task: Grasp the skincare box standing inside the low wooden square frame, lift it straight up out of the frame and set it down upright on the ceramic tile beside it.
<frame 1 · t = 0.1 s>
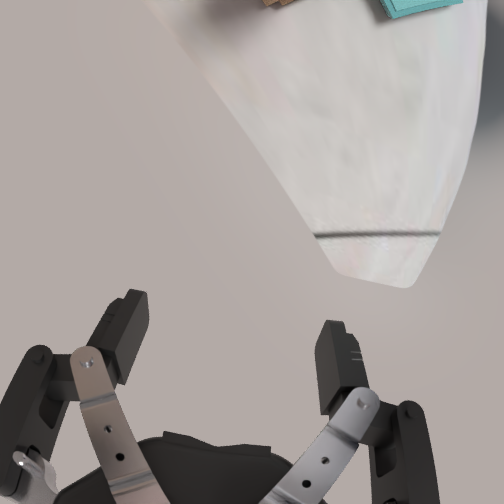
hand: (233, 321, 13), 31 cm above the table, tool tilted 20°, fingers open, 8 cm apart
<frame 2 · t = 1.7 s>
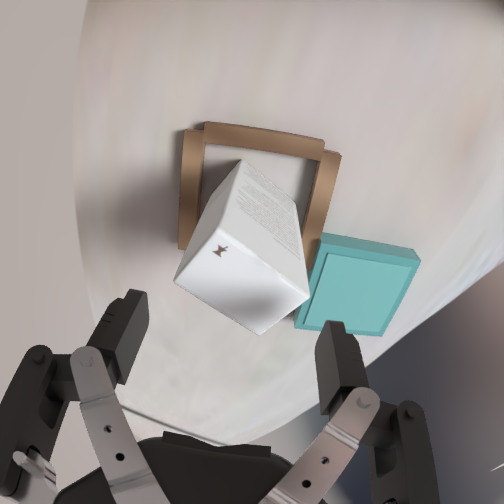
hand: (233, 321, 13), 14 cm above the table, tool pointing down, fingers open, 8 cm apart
skincare box: (254, 198, 25), resting in wooden square frame
tile: (352, 284, 29), on the table
wooden square frame: (253, 199, 25), on the table
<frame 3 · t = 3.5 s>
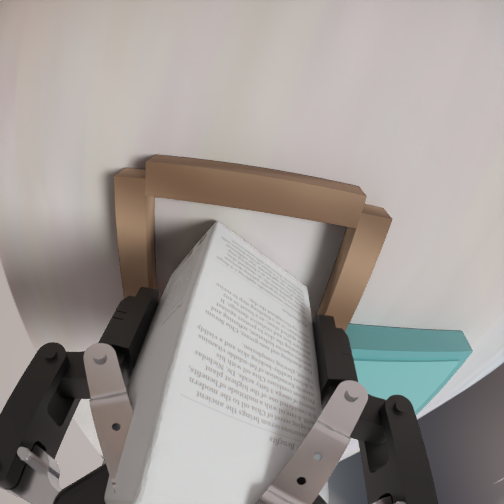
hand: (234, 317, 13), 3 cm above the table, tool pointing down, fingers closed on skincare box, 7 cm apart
skincare box: (240, 278, 16), resting in wooden square frame, touching gripper
tile: (378, 375, 20), on the table
wooden square frame: (239, 281, 16), on the table
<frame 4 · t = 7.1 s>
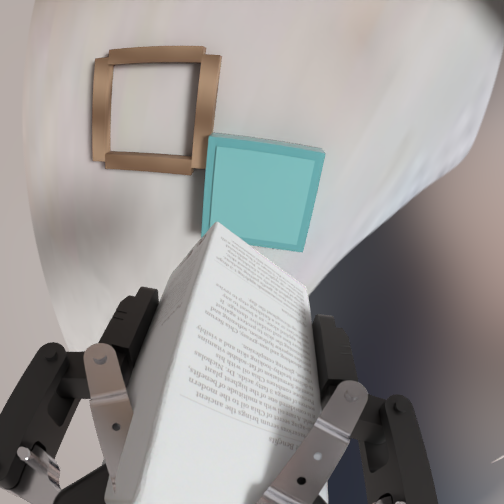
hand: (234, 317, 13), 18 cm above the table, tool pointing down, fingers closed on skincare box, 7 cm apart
skincare box: (240, 279, 16), point 15 cm above the table, touching gripper
tile: (259, 189, 29), on the table
wooden square frame: (152, 108, 25), on the table
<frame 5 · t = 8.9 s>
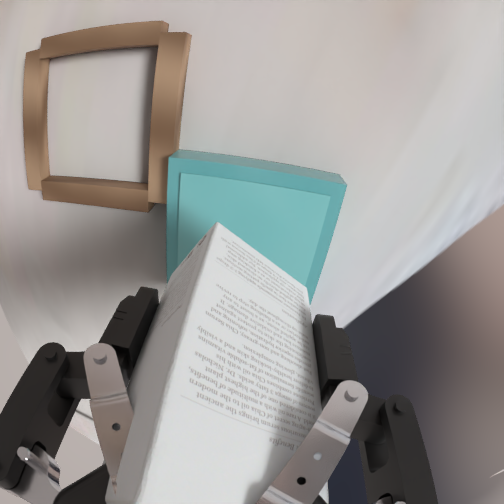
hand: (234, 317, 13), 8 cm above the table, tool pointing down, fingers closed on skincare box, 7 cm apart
skincare box: (240, 279, 16), point 5 cm above the table, touching gripper
tile: (248, 232, 20), on the table
wooden square frame: (96, 115, 16), on the table
when the fingers open (6 cm above the table, at t = 10.5 s): skincare box stays where it is, resting on tile.
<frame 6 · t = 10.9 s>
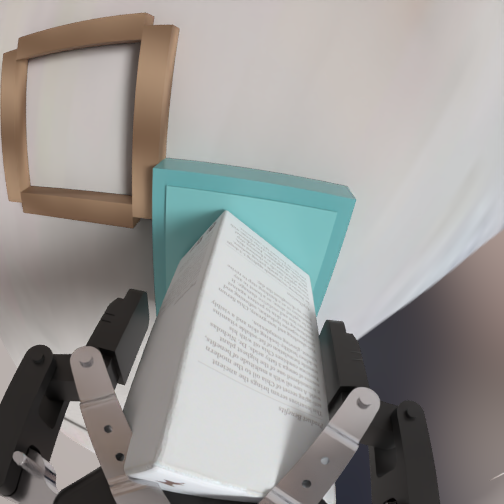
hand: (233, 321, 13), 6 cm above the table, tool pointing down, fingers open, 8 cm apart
skincare box: (246, 266, 17), point 2 cm above the table, touching tile
tile: (243, 249, 18), on the table
wooden square frame: (75, 120, 14), on the table
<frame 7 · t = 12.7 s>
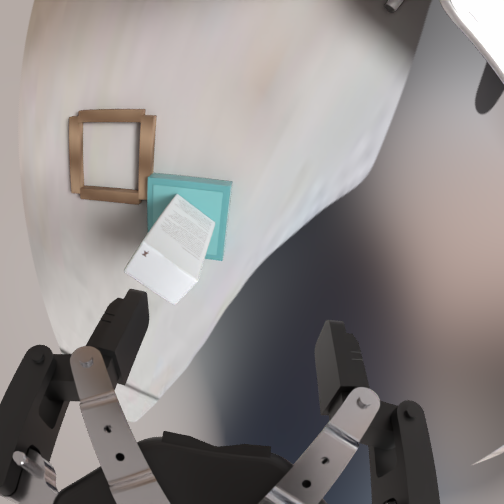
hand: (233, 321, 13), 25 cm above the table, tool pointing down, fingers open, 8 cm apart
skincare box: (187, 219, 36), point 2 cm above the table, touching tile
tile: (189, 214, 38), on the table
wooden square frame: (111, 154, 34), on the table
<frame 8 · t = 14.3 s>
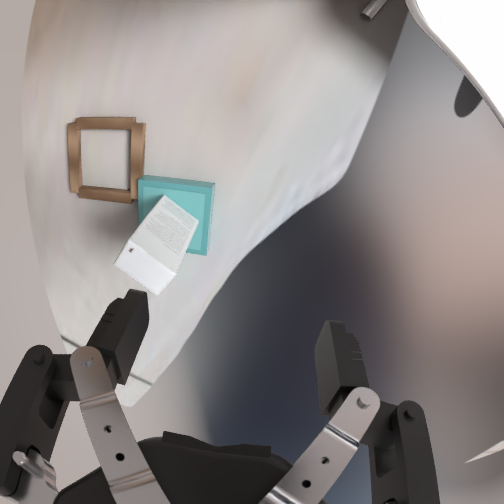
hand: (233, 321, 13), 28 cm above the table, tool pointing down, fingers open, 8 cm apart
skincare box: (174, 217, 40), point 2 cm above the table, touching tile
tile: (176, 212, 41), on the table
monitor stand: (496, 51, 25), on the table
wooden square frame: (106, 158, 37), on the table
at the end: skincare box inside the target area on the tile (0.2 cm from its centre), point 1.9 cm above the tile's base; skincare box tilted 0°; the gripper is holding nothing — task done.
